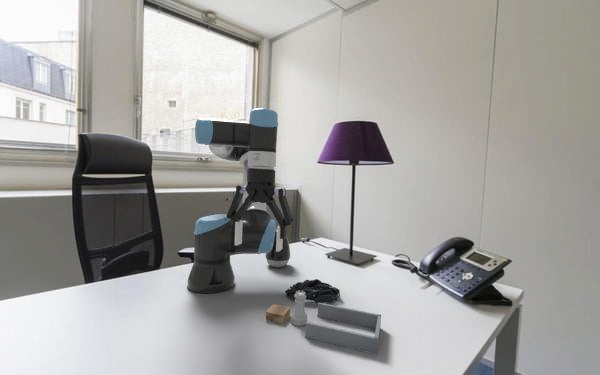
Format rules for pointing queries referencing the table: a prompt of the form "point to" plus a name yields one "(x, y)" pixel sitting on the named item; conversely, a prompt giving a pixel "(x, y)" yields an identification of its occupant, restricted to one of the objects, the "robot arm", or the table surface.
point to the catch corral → (344, 336)
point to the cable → (318, 295)
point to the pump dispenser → (279, 254)
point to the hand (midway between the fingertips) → (258, 247)
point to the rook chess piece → (299, 310)
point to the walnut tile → (278, 313)
